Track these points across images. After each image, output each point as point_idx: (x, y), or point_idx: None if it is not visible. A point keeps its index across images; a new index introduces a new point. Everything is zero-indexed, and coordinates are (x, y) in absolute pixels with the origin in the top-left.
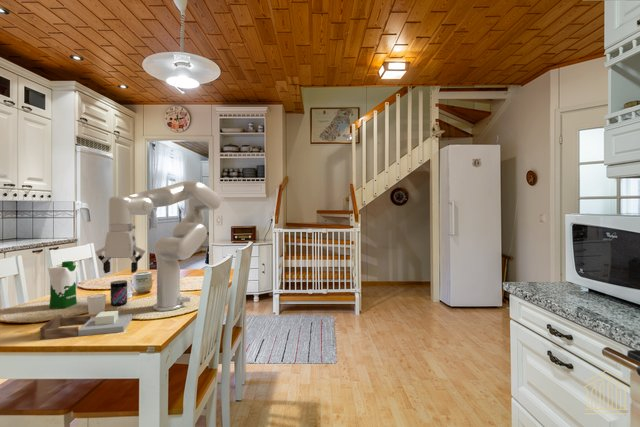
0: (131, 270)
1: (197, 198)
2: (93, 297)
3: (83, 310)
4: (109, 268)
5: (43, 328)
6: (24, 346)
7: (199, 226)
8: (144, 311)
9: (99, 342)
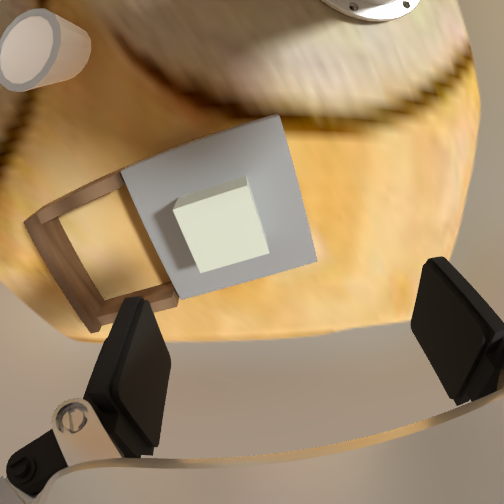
0: (420, 341)
1: None
2: (21, 69)
3: None
4: (144, 339)
5: (97, 330)
6: None
7: None
8: (278, 12)
9: (281, 322)
